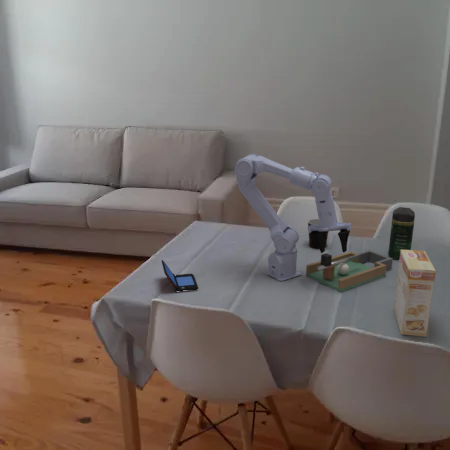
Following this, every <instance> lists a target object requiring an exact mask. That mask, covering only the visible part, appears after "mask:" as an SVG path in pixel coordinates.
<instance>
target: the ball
mask: <svg viewBox="0 0 450 450" xmlns="http://www.w3.org/2000/svg"><path fill="white" fill-rule="evenodd" d="M337 270H338V272H339V273H340V274H342V275H345V274H347V273H348V272H349V266H348V265H347V264H346V263H341V264H339V265H338V267H337Z"/></svg>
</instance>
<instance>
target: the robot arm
mask: <svg viewBox="0 0 450 450" xmlns="http://www.w3.org/2000/svg"><path fill="white" fill-rule="evenodd" d="M266 172H267V173H270V174H274V175H275V176H279V177H282V178H285V179H289V182H290V184H291V185H294V186H297V187H299V188H303V189H304V190H308V191H311V193H312V195H314V200H315V206H316V212H317V217H318V218H317V219H319V223H320V224H318V225H310V226H309V227H308V226H307V232H308V234H309V233H311V232H312V234H311V237H312V239H313V240H314V241H315V242H316V244H317V245H318V247H319V249H318V250H319V252H320V253H321V254H324V252H325V251H326V247H325V246H324V241H323V231H329V232H333V231H335V232H336V231H339V232H337V236H338V238H339V242H340V244H341V251H342V253H347V251H348V240H349V236H350V234H351V230H352V229H353V226H352V222H338V217H337V211H336V206H335V202H334V196H333V192H332V189H331V188H332V186H333V181H332V179H331V177H330V176H329V175H327V174H325V173H319V172H317V171H316V172H312V171H310V170H307V169H306V167H305V166H300V167H299V166H297V167H295V168H291V167H288V166H287V165H283V164H282V163H279V162H276V161H273V160H272V159H269V158H267V157H265V156H262V155H257V154H256V153H250V154H249V153H248V154H247V155H246V156H245V157H243V158H239V159H238V160H237V162H236V163H235V166H234V170H233V173H234V174H235V176H236V177H235V178H236V182H237V187H238V190H239V192H241V193H240V194H242V195H243V198H245V199H246V200H247V202H248V203H249V205H250V206H251V207H252V208H253V210H254V211H255V213H256V215H258V217H259V219H260V220H261V221H262V222H263V223H264V224H265V226H266V227H267V228H268V230H269V233H270V234H269V236H270V239H271V240H272V242H273V244H274V245H273V246H274V248H275V251H273V252H272V253H270V254H269V256H268V257H267V258H268V259H267V263H268V266H267V271H266V275H267V276H269V277H272V278H274V279H276V280H277V281H279V282H282V281H283V282H284V281H286V280H289V279H293V278H295V277H300V276H301V275H302V272H299V271H297V263H298V262H297V257H298V256H297V255H298V247H297V245H296V244H297V243H298V242H299V239H300V235H299V233H298V231H297V230H296V229H294V228H292V227H291V226H290V225H289V223H287V222H285V221H283V220H282V219H281V217H280V215H279V214H278V213H277V212H276V211H275V209H274V208H273V207H272V205H271V204H270V203H269V201H268V200H267V199H266V197H265V196H264V195H263V193H262V192H261V191H260V189H259V188H258V187H257V185H256V181H257V177H258V176H257V175H258V174H261V173H266Z"/></svg>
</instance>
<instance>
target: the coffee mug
mask: <svg viewBox="0 0 450 450" xmlns="http://www.w3.org/2000/svg"><path fill="white" fill-rule="evenodd" d="M318 224H320V223H319V218H312V219H309V220H308V221H307V228H308V227H309V226H310V225H318ZM329 232H330V231H323V241H324V246H325V248H327V242H328V237H329ZM311 234H312V232H311V233H309V232H308V239H309V240H308V241H309V242H308V243H309V247H310V248H311V249H315V250H320V249H319V247H318V245H317V244H316V242H315V241H314V240H313V239H312V237H311Z"/></svg>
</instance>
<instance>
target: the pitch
mask: <svg viewBox="0 0 450 450" xmlns="http://www.w3.org/2000/svg"><path fill="white" fill-rule="evenodd" d="M358 254H361V257H360V258H357V259H353V260H350V261H347V262H344V263H346V264H347V265H348V266H349V272H348V273H347V274H345V275H342V274H340V273H339V272H338V270H337V267H338V265H339V264H338V265H335V270H334V279H331V280H328V279H326V278H324V277H323V269H322V270H319V271H318V270H317V267H319V266H322V265H321V260H318V261H314V262H311V263H309V264H306V269H305V271H306V272H305V273H306V274H305V276H306V277H308V278H310V279H312V280H313V281H316V282H319V283H321V284H323V285H324V286H327V287H329V288H330V289H333V290H335V291H338V292H339V293H342V292H345V291H348V290H350V289H354V288H356V287H359V286H362V285H365V284H367V283H370V282H373V281H376V280H379V279H382V278H384V277H386V275H387V274H386V273H387V271H390V270H392V268H393V260H394V259H393V258H390V257H389V256H388V255H385V254H382V253H378V252H377V251H374V250H371V249H367V250H364V251H361V252H358V253H356V252H353V251H348V252H347V251H346V252H343V253H340V254H339V255H334V256H332V260H331V263H332V262H335V261H338V260H342V259H345V258H348V257H351V256H354V255H358ZM366 263H372V264H374V267H371V266H369V265H366Z"/></svg>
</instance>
